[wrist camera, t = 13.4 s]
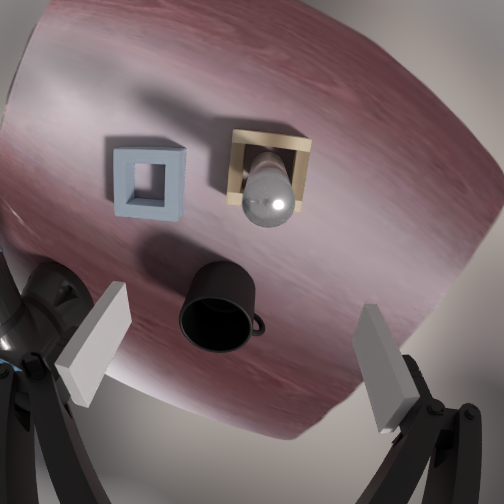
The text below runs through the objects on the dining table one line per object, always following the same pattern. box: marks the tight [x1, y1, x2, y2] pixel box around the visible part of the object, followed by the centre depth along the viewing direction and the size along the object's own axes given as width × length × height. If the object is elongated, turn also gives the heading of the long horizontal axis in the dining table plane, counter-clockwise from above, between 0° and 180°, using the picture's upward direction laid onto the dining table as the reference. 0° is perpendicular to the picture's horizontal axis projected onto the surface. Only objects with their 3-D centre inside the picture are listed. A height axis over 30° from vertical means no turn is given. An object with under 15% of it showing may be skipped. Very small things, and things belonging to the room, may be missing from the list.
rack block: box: [226, 129, 312, 213], centre depth 35 cm, size 9×9×3 cm
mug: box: [179, 262, 265, 353], centre depth 41 cm, size 9×12×9 cm
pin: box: [242, 152, 295, 228], centre depth 30 cm, size 4×4×16 cm
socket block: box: [113, 146, 187, 222], centre depth 37 cm, size 9×9×3 cm
